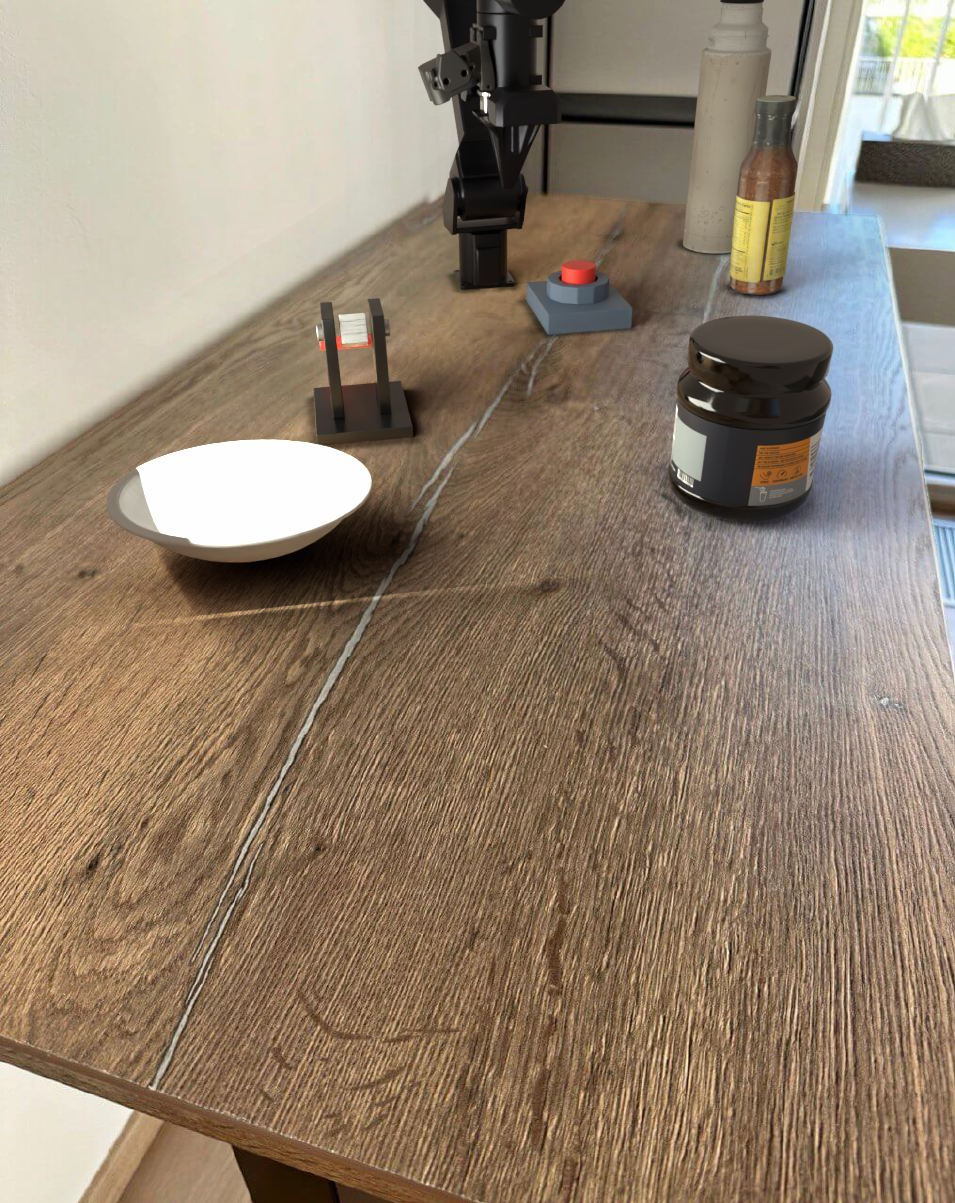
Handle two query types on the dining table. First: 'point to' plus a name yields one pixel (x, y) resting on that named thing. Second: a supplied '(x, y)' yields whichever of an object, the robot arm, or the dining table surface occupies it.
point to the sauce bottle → (765, 201)
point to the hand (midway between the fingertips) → (507, 188)
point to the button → (578, 272)
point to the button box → (578, 305)
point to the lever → (352, 332)
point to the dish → (240, 498)
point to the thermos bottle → (725, 122)
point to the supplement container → (750, 417)
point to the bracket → (359, 391)
